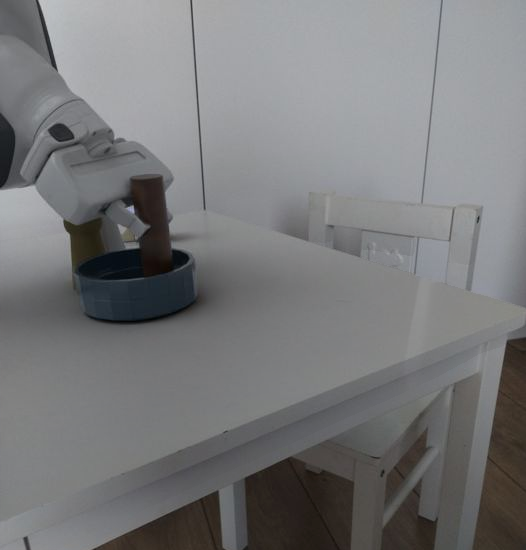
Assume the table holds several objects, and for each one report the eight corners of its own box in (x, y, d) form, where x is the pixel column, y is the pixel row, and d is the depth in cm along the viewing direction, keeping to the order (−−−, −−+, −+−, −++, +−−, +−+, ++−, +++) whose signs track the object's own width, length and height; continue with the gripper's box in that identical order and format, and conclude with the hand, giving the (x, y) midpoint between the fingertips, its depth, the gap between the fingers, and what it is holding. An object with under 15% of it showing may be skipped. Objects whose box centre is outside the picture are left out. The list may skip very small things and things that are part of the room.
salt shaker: (84, 273, 89) (68, 188, 84) (104, 262, 94) (90, 181, 89) (117, 274, 88) (103, 188, 82) (135, 264, 93) (123, 181, 87)
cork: (66, 285, 84) (51, 210, 79) (104, 275, 88) (91, 203, 83) (83, 294, 80) (68, 215, 75) (122, 284, 83) (110, 208, 79)
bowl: (63, 325, 69) (54, 282, 67) (102, 285, 83) (96, 248, 81) (186, 323, 68) (181, 279, 66) (205, 282, 82) (202, 245, 80)
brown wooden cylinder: (141, 292, 73) (125, 179, 67) (149, 282, 77) (134, 174, 71) (172, 291, 73) (158, 178, 67) (178, 281, 76) (166, 173, 70)
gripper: (115, 154, 81) (183, 225, 82) (8, 177, 64) (95, 267, 65) (138, 119, 77) (208, 194, 78) (31, 134, 60) (122, 229, 61)
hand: (156, 227), depth 71 cm, fingers closed on brown wooden cylinder, 4 cm apart
